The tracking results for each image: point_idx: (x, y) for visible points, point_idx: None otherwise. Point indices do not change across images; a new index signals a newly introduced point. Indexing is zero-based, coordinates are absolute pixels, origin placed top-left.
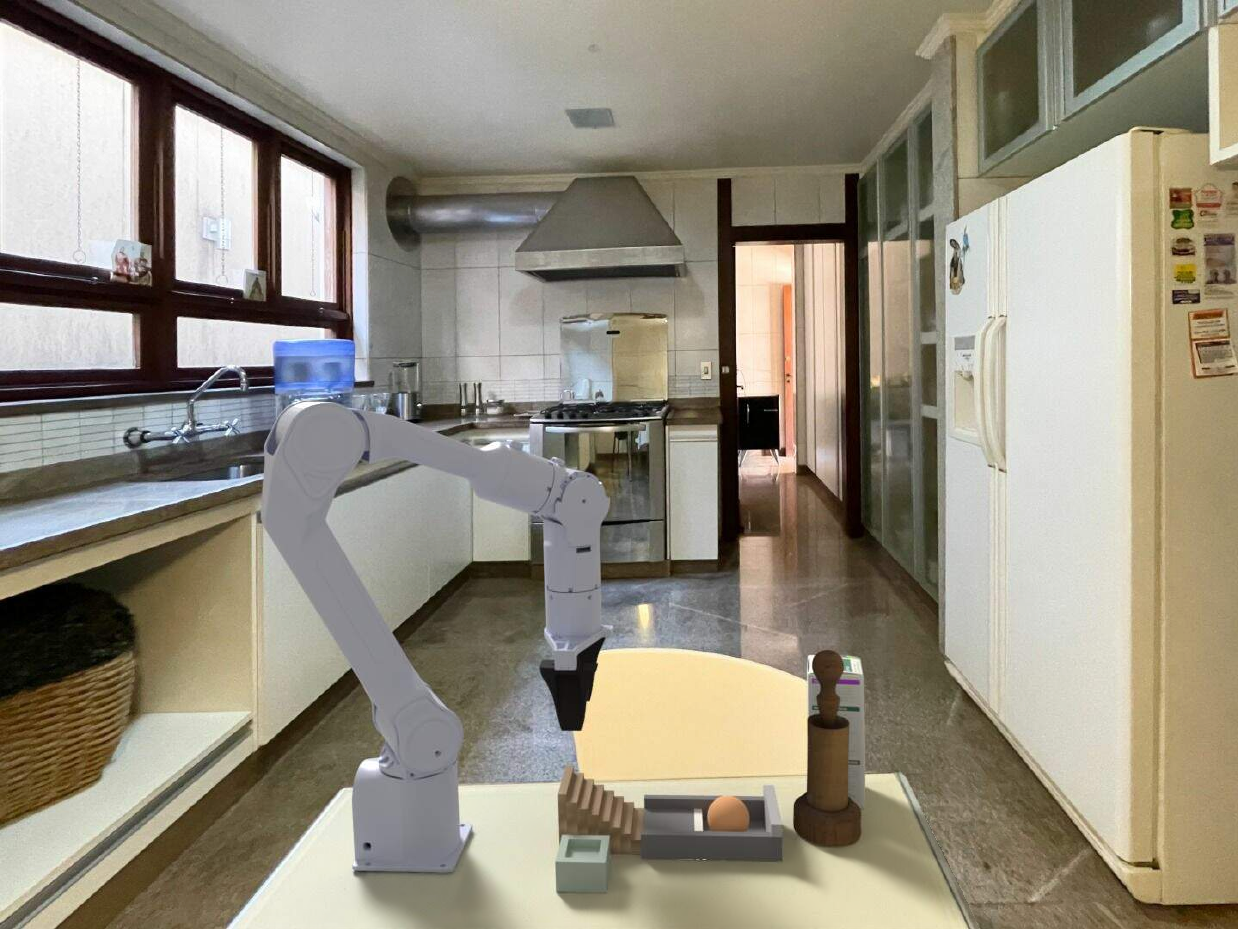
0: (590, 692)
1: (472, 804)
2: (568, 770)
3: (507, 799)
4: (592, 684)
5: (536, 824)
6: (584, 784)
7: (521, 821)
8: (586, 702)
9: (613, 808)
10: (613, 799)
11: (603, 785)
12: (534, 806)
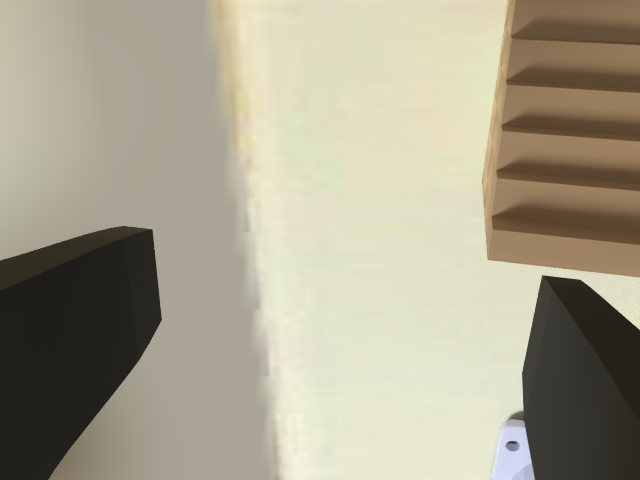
0: (124, 245)
1: (373, 417)
2: (539, 250)
3: (349, 341)
4: (88, 254)
5: (496, 267)
6: (550, 168)
7: (474, 305)
8: (614, 348)
9: (614, 36)
10: (545, 38)
11: (515, 86)
12: (390, 275)
